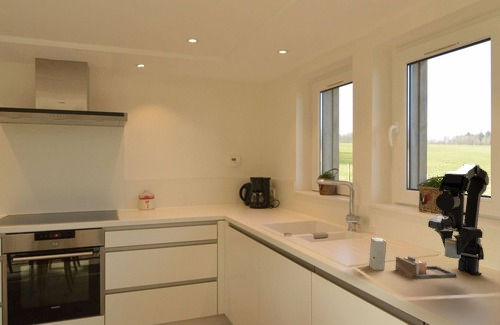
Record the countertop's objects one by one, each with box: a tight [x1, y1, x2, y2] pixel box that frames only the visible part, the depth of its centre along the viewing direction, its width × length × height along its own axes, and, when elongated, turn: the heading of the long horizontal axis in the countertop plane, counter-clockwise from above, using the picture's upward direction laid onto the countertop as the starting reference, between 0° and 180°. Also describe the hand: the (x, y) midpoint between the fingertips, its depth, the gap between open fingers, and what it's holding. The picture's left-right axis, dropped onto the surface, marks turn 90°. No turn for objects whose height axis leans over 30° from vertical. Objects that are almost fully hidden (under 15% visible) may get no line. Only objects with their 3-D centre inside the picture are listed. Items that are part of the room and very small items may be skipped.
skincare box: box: [368, 237, 387, 271], centre depth 137 cm, size 6×4×12 cm
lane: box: [395, 256, 457, 280], centre depth 132 cm, size 18×10×6 cm, turn 102°
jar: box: [415, 258, 428, 275], centre depth 132 cm, size 5×5×4 cm
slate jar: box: [443, 237, 461, 260], centre depth 124 cm, size 5×5×6 cm
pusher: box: [403, 256, 419, 275], centre depth 131 cm, size 1×7×6 cm, turn 12°
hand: (452, 252), depth 124 cm, fingers closed on slate jar, 5 cm apart
